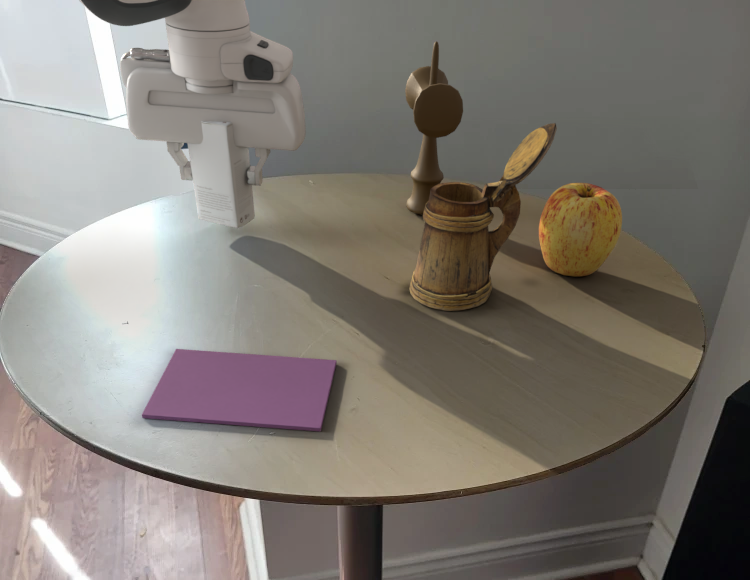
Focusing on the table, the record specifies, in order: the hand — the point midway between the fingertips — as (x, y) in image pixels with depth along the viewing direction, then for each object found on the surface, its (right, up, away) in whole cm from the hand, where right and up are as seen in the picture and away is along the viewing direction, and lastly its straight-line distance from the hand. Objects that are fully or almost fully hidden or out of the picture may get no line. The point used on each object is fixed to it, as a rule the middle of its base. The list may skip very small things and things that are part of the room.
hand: (222, 181), depth 94 cm
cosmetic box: (0, -4, +3) cm, 5 cm away
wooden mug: (+29, -15, -6) cm, 33 cm away
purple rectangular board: (+6, -28, -21) cm, 36 cm away
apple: (+42, -11, -2) cm, 43 cm away
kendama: (+25, 0, +10) cm, 27 cm away
